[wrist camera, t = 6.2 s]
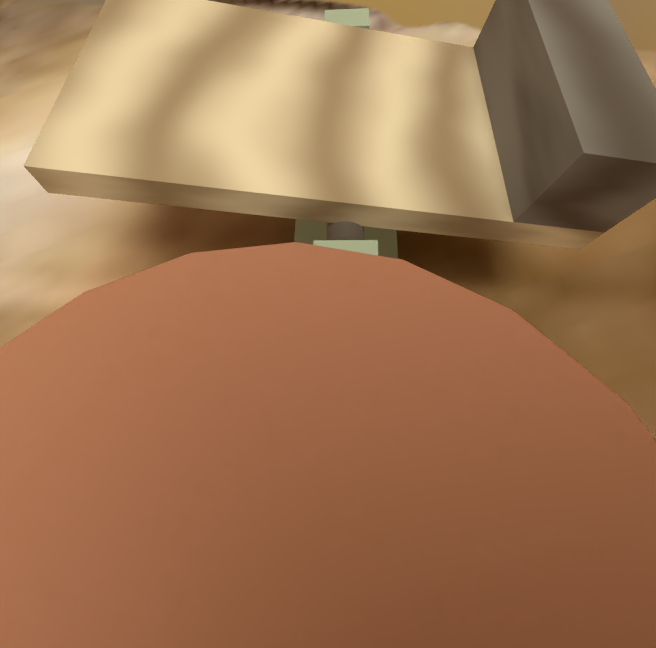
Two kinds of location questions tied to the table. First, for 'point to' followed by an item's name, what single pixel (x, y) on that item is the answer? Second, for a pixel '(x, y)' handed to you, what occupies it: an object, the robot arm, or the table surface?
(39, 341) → the coffee jar
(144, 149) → the seesaw plank
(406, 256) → the table surface
